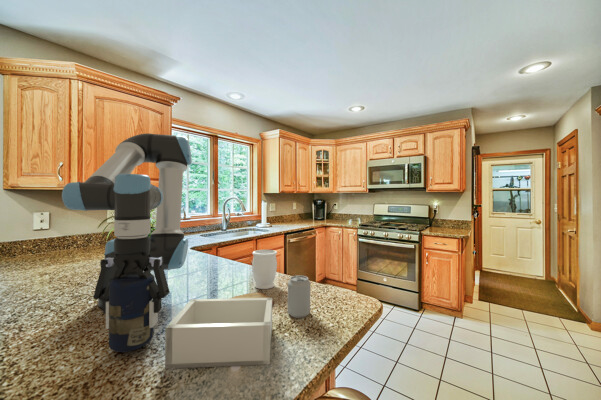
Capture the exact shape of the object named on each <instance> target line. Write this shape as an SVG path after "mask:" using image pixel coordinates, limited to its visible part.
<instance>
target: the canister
mask: <svg viewBox="0 0 601 400" xmlns="http://www.w3.org/2000/svg"><path fill="white" fill-rule="evenodd" d="M151 275H152V276H151V277H149V278H148V279H146V278H139V277H138V275H133V274H127V275H122V276H121V277H120V278H115V279H112V280H111V282H110V284H109V329H108V347H109V349H111V351H114V352H116V353H117V352H118V353H126V352H131V351H132V352H133V351H135V350H139V349H140V348H143V347H145V346H146V345H147V344H149V342H151V340H152V339H153V337H154V334H155V326H154V327H153V328H149V302H150V301H151V300H152V297H151V295H150V293H149V283H152V282H153V281H154V280H155V281H156V278H155V274H153V273H151Z"/></svg>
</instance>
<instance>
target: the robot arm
mask: <svg viewBox="0 0 601 400" xmlns="http://www.w3.org/2000/svg"><path fill="white" fill-rule="evenodd" d="M114 151H115V152H114V153H113V154H112V155H111V156H110V157H109V158H108V159H107V160H106V161H105V162H104V163H103V164H102V165H101V166H100V167H99V168H97V169H96V170H95V171H94V173H92V174H91V175H90V176H89V177H88V178H86V180H85V181H83V182H82V181H77V182H75V181H73V182H68V183H66V184H65V185H64V187H63V188H62V192H61V199H62V202H63V205H64V207H66V209H69V210H73V211H84V212H87V211H114V217H113V219H114V221H113V223H114V225H113V226H114V228H113V229H114V231H113V232H114V233H113V234H114V237H115V238H114V239H111V240H108V241H107V242H106V243H105V245H104V253H103V256H104V259H101V260H100V261H99V264H100V272H99V275H98V278H97V282H96V286H95V289H94V293H93V299H94V300H97V306H98V308H99V309H102V314H103V315H105V330H109V284H110V282H111V280H112V279H115V278H120V277H121V276H122V275H127V274H133V275H138V277H139V278H146V279H148V278H149V277H151V276H152V275H151V274H152V273H151V271H153V273H154V274H153V275H154V278H155V280H154V281H153V282H152V283H149V293H150V295H151V297H152V300H151V301H150V302H149V328H153V327H154V328H155V326H156V325H157V324H158V322H159V313H160V311H161V310H162V299H164V298H166V297H167V296H168V295H169V294H170V287H169V285H168V280H167V277H166V273H165V271H170V270H178V269H181V268H183V266H184V264H185V262H186V260H187V255H188V249H189V238H187V237H185V233H184V231H182V230H181V221H182V219H181V218H182V199H183V181H184V179H183V178H184V172H185V171H187V169H188V166H190V165H192V164H193V163H192V161H193V160H192V150H191V145H190V141H189V138H187V136H183V135H177V134H175V135H173V134H159V133H139V134H136V135H132V136H130V137H128V138H127V139H124V140H123V141H121V142H120V143H119V144H118V145H117V146H116V147H115V150H114ZM144 163H151V164H155V167H156V168H157V169H158V170H159V171H158V172H159V173H158V185H157V186H156V185H154V184H152V182H151V178H150V176H149V175H148V174H139V173H138V174H137V173H133V171H134V170H135V168H137V167H138V166H141V165H142V164H144ZM155 209H156V215H155V216H156V217H155V229H154V230H153V231H151V211H152V210H155Z"/></svg>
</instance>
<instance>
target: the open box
mask: <svg viewBox="0 0 601 400" xmlns="http://www.w3.org/2000/svg"><path fill="white" fill-rule="evenodd" d="M232 298H233V297H232ZM272 300H273V297H269V298H233V299H229V298H196V299H193V298H191V299H190V300H189V301H188V302H187V303H186V304H185V305H184V306H183V307H182V309H181V310H180V311H179V312H178V313H177V314H176V316H175V317H174V318H173V319H172V320H171V321H170V322H169V323H168V325H167V326H166V327H165V329H164V330H165V331H164V332H165V335H164V342H165V343H164V346H165V347H164V369H165V370H169V369H170V370H171V369H189V368H190V369H192V368H213V367H214V368H215V367H216V368H217V367H238V366H239V367H240V366H261V365H262V366H265V365H268V366H269V365H270V363H271V362H270V361H271V352H272V351H271V350H272V349H271V347H272V332H273V305H272Z"/></svg>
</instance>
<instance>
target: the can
mask: <svg viewBox="0 0 601 400" xmlns="http://www.w3.org/2000/svg"><path fill="white" fill-rule="evenodd" d="M287 313H288V314H289V315H290V316H291V317H292V318H296V319H302V318H305V317H308V315H309V314H310V313H311V281H310V280H309V277H308V276H306V275H302V274H301V275H300V274H298V275H296V274H295V275H292V276H290V277H289V280H288V282H287Z"/></svg>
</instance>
